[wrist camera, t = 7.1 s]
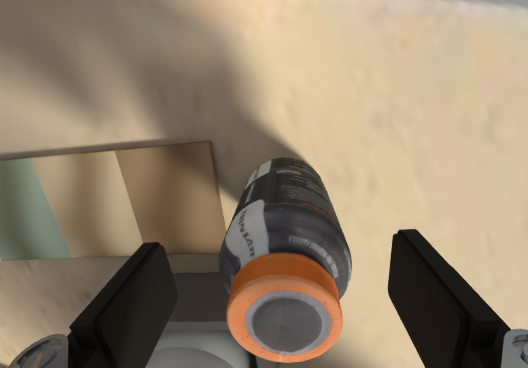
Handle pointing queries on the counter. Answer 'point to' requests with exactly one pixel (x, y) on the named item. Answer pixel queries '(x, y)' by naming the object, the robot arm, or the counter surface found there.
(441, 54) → the counter surface
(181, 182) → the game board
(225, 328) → the box
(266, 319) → the pill bottle
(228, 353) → the dome
